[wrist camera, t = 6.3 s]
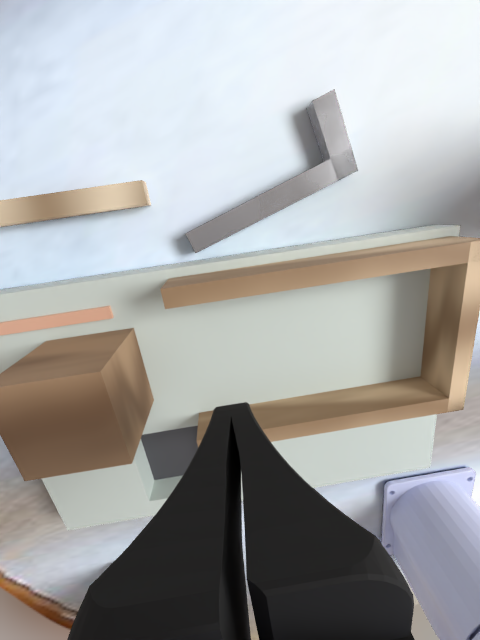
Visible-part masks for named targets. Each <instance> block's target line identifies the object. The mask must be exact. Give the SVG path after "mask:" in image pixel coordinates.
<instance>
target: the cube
mask: <svg viewBox="0 0 480 640" xmlns="http://www.w3.org/2000/svg"><path fill="white" fill-rule="evenodd" d="M153 402H154V398H153V395H152V391H151V387H150V384H149V380H148V377H147V373H146V370H145V366H144V362H143V359H142V355H141V352H140V348H139V345H138V341H137V337H136V334H135V330H134V328H129V329H122V330H116V331H109V332H102V333H95V334H89V335H82V336H75V337H69V338H62V339H55V340H49V341H45V342H44V343H43V344H41V345H40V346H38V347H37V348H36V349H34V350H33V351H31V352H30V353H29V354H27V355H26V356H24V357H23V358H22V359H20V360H19V361H17V362H16V363H15V364H13V365H12V366H10V367H9V368H8V369H6V370H5V371H3V372H2V373H1V374H0V435H1V437H2V439H3V441H4V443H5V445H6V446H7V448H8V450H9V452H10V454H11V456H12V458H13V460H14V462H15V464H16V465H17V467H18V469H19V471H20V473H21V475H22V477H23V479H24V481H29V480H35V479H41V478H48V477H54V476H60V475H66V474H72V473H78V472H84V471H90V470H97V469H103V468H109V467H115V466H121V465H127V464H132V462H133V460H134V457H135V454H136V451H137V448H138V445H139V442H140V439H141V436H142V434H143V431H144V428H145V425H146V422H147V419H148V416H149V413H150V410H151V407H152V405H153Z"/></svg>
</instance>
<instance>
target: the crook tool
mask: <svg viewBox="0 0 480 640" xmlns="http://www.w3.org/2000/svg"><path fill="white" fill-rule="evenodd" d="M307 111H308V115H309V118H310V121H311V124H312V127H313V130H314V133H315V136H316V139H317V142H318V145H319V148H320V151H321V154H322V157H323V160H324V162H323V163H321V164H319V165H317V166H315V167H313V168H311V169H309V170H307V171H305V172H303V173H301V174H300V175H298V176H296V177H294V178H292V179H290V180H288V181H286V182H284V183H282V184H280V185H278V186H276V187H274V188H273V189H271V190H269V191H267V192H265V193H263V194H261V195H259V196H257V197H255V198H253V199H251V200H249V201H247V202H245V203H244V204H242V205H240V206H238V207H236V208H234V209H232V210H230V211H228V212H226V213H224V214H222V215H220V216H218V217H216V218H215V219H213V220H211V221H209V222H207V223H205V224H203V225H201V226H199V227H197V228H195V229H193V230H191V231H189V232H187V233H186V236H187V238H188V240H189V242H190V243H191V245H192V247H193V249H194V251H195V253H197V252H199V251H201V250H203V249H205V248H207V247H209V246H211V245H213V244H215V243H217V242H219V241H221V240H223V239H225V238H227V237H229V236H231V235H233V234H235V233H236V232H238V231H240V230H242V229H244V228H246V227H248V226H250V225H252V224H254V223H256V222H258V221H260V220H262V219H264V218H266V217H268V216H270V215H272V214H274V213H276V212H278V211H280V210H282V209H284V208H286V207H288V206H289V205H291V204H293V203H295V202H297V201H299V200H301V199H303V198H305V197H307V196H309V195H311V194H313V193H315V192H317V191H319V190H321V189H323V188H325V187H327V186H329V185H331V184H333V183H335V182H337V181H339V180H340V179H342V178H344V177H346V176H348V175H350V174H352V173H354V172H356V171H358V169H357V165H356V162H355V158H354V155H353V151H352V148H351V145H350V141H349V138H348V134H347V131H346V127H345V124H344V120H343V117H342V113H341V110H340V106H339V103H338V100H337V96H336V93H335V89H334V90H332V91H330V92H328V93H326V94H325V95H323V96H321V97H319V98H317V99H315V100H313V101H312V102H311V103H310V105H309V106H308V107H307Z"/></svg>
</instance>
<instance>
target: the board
mask: <svg viewBox="0 0 480 640" xmlns="http://www.w3.org/2000/svg"><path fill="white" fill-rule="evenodd" d="M459 233H460V225H430V226H424V227H417V228H410V229H403V230H397V231H390V232H383V233H377V234H370V235H363V236H357V237H350V238H343V239H336V240H330V241H323V242H316V243H310V244H303V245H296V246H290V247H283V248H276V249H269V250H263V251H256V252H249V253H243V254H236V255H229V256H223V257H216V258H209V259H202V260H196V261H189V262H182V263H176V264H169V265H162V266H156V267H149V268H142V269H135V270H129V271H122V272H115V273H109V274H102V275H95V276H89V277H82V278H75V279H68V280H62V281H55V282H48V283H42V284H35V285H28V286H22V287H15V288H8V289H1V290H0V322H5V321H12V320H18V319H25V318H31V317H38V316H45V315H51V314H58V313H64V312H71V311H77V310H84V309H91V308H97V307H104V306H111V310H112V313H113V316H114V318H112V319H105V320H99V321H92V322H86V323H79V324H73V325H66V326H60V327H53V328H47V329H40V330H34V331H27V332H21V333H14V334H8V335H1V336H0V374H1V373H2V372H3V371H5V370H6V369H8V368H9V367H10V366H12V365H13V364H15V363H16V362H17V361H19V360H20V359H22V358H23V357H24V356H26V355H27V354H29V353H30V352H31V351H33V350H34V349H36V348H37V347H38V346H40V345H41V344H43V343H44V342H45V341H49V340H55V339H62V338H69V337H75V336H82V335H89V334H95V333H102V332H109V331H116V330H122V329H129V328H134V330H135V334H136V337H137V341H138V345H139V348H140V352H141V355H142V359H143V362H144V366H145V370H146V373H147V377H148V380H149V384H150V387H151V391H152V395H153V398H154V402H153V405H152V407H151V410H150V413H149V416H148V419H147V422H146V425H145V428H144V431H143V434H142V436H141V439H140V442H139V445H138V448H137V451H136V454H135V457H134V460H133V462H132V464H127V465H121V466H115V467H109V468H103V469H97V470H90V471H84V472H78V473H72V474H66V475H60V476H54V477H48V478H41V479H42V481H43V483H44V485H45V487H46V489H47V491H48V493H49V495H50V497H51V499H52V501H53V503H54V504H55V506H56V508H57V510H58V512H59V514H60V516H61V518H62V520H63V522H64V524H65V526H66V528H67V530H74V529H79V528H85V527H91V526H97V525H102V524H108V523H114V522H120V521H126V520H131V519H137V518H143V517H149V516H154V515H156V513H157V512H158V511H159V510H160V508H161V507H162V505H163V504H164V503H165V501H166V500H167V499H168V497H169V496H170V494H171V493H172V492H173V490H174V489H175V487H176V486H177V484H178V482H179V481H180V479H181V478H182V476H183V475H184V473H185V471H186V470H187V468H188V466H189V464H190V462H191V461H192V459H193V457H194V455H195V453H196V451H197V449H198V445H197V441H196V440H197V429H198V418H199V413H200V412H206V411H212V410H214V409H215V408H216V407H219V406H225V405H231V404H238V403H244V402H247V403H248V404H255V403H261V402H267V401H273V400H279V399H285V398H292V397H298V396H304V395H310V394H316V393H322V392H328V391H334V390H340V389H346V388H353V387H359V386H365V385H371V384H377V383H383V382H389V381H395V380H401V379H407V378H414V377H420V375H421V365H422V354H423V344H424V334H425V323H426V313H427V302H428V292H429V281H430V271H431V269H424V270H418V271H411V272H405V273H398V274H392V275H385V276H379V277H372V278H366V279H359V280H353V281H346V282H340V283H333V284H327V285H320V286H314V287H307V288H301V289H294V290H287V291H281V292H274V293H268V294H261V295H255V296H248V297H242V298H235V299H229V300H222V301H216V302H209V303H203V304H196V305H190V306H183V307H177V308H170V309H165V307H164V303H163V299H162V295H161V290H160V289H161V287H162V286H163V285H164V284H165V282H166V281H167V280H168V279H169V278H175V277H182V276H189V275H195V274H202V273H209V272H215V271H222V270H229V269H235V268H242V267H249V266H255V265H262V264H268V263H275V262H282V261H288V260H295V259H302V258H308V257H315V256H322V255H328V254H335V253H341V252H348V251H355V250H361V249H368V248H375V247H381V246H388V245H395V244H401V243H408V242H415V241H421V240H428V239H434V238H441V237H448V236H457V237H459ZM436 417H437V414H434V415H429V416H423V417H417V418H411V419H405V420H399V421H393V422H387V423H381V424H375V425H369V426H363V427H357V428H351V429H345V430H339V431H333V432H327V433H321V434H315V435H309V436H303V437H298V438H292V439H286V440H280V441H274V442H271V443H272V444H273V446H274V447H275V448H276V450H277V451H278V452H279V453H280V454H281V456H282V457H283V458H284V459H285V460H286V462H287V463H288V464H289V465H290V466H291V467H292V468H293V469H294V470H295V471H296V472H297V473H298V474H299V475H300V476H301V477H302V478H303V479H304V480H305V481H306V482H307V483H308V484H309V485H310V486H311V487H312V488H316V487H322V486H328V485H333V484H339V483H345V482H351V481H357V480H362V479H368V478H374V477H380V476H385V475H391V474H397V473H403V472H408V471H414V470H420V469H426V468H430V465H431V457H432V449H433V441H434V433H435V425H436ZM241 500H243V488H242V474H241Z"/></svg>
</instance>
